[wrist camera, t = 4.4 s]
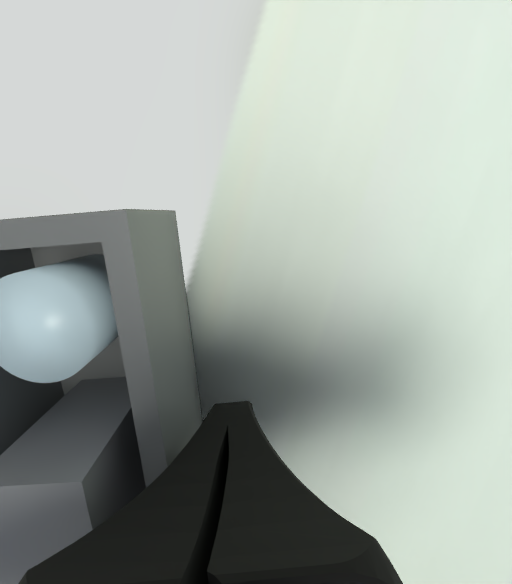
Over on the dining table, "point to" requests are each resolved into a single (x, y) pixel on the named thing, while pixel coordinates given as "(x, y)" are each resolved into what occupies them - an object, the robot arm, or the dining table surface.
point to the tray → (88, 373)
